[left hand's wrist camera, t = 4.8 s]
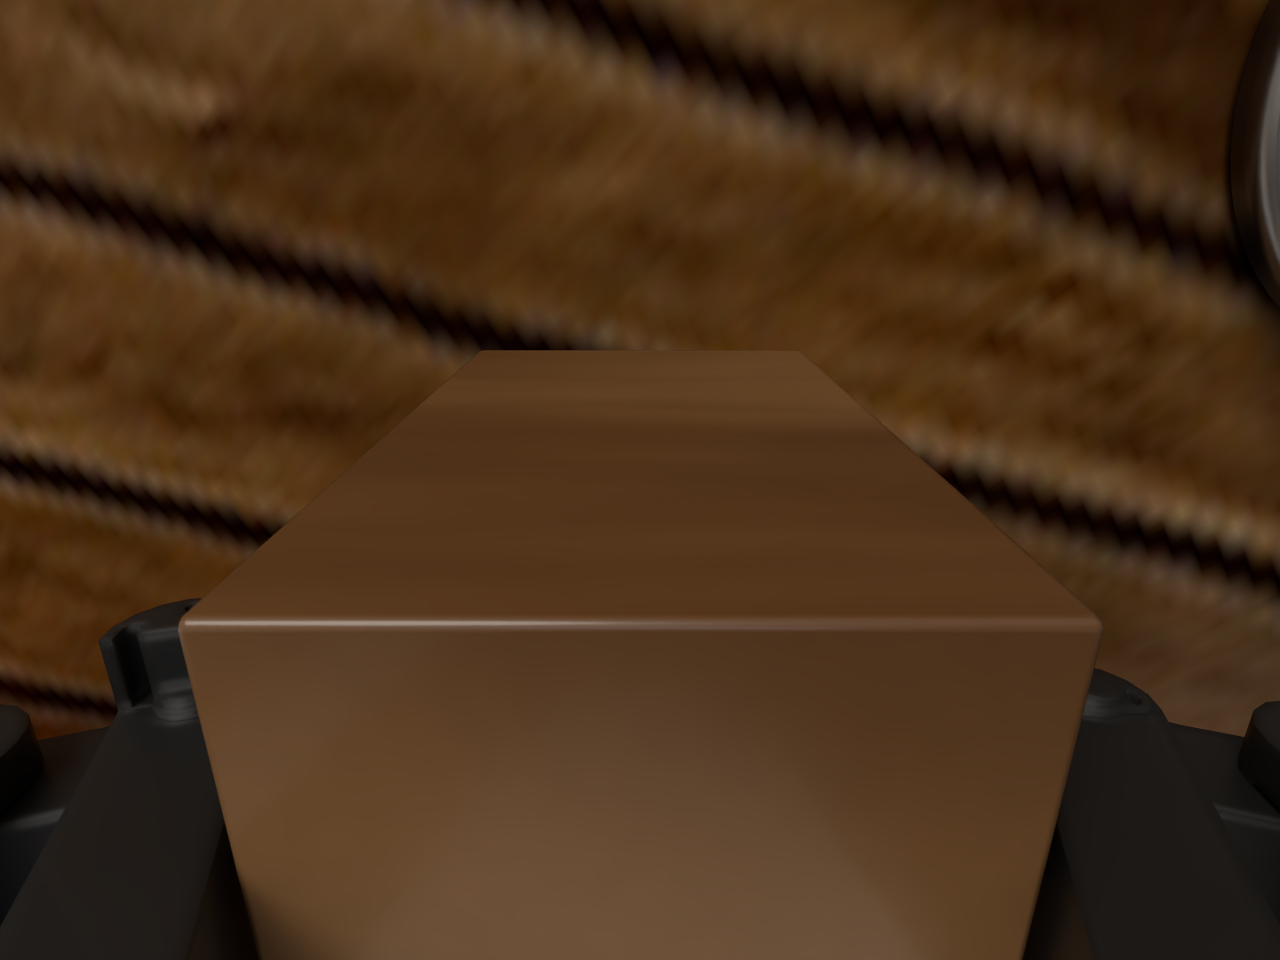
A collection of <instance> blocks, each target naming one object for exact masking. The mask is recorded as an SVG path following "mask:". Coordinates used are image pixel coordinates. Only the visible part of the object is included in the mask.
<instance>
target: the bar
mask: <svg viewBox="0 0 1280 960" xmlns="http://www.w3.org/2000/svg"><path fill="white" fill-rule="evenodd" d="M178 633H179V638H180V642H181V646H182V650H183V654H184V658H185V662H186V666H187V670H188V674H189V678H190V682H191V686H192V690H193V695H194V699H195V703H196V707H197V711H198V715H199V719H200V723H201V727H202V731H203V735H204V739H205V743H206V747H207V751H208V756H209V760H210V764H211V768H212V772H213V776H214V780H215V784H216V788H217V792H218V796H219V800H220V804H221V808H222V813H223V817H224V821H225V825H226V829H227V833H228V837H229V841H230V845H231V849H232V853H233V857H234V861H235V865H236V869H237V874H238V878H239V882H240V886H241V890H242V894H243V898H244V902H245V906H246V910H247V914H248V918H249V922H250V926H251V931H252V935H253V939H254V943H255V947H256V951H257V955H258V959H259V960H1022V959H1023V955H1024V951H1025V947H1026V943H1027V939H1028V935H1029V931H1030V927H1031V923H1032V919H1033V915H1034V910H1035V906H1036V902H1037V898H1038V894H1039V890H1040V886H1041V882H1042V878H1043V874H1044V870H1045V866H1046V862H1047V858H1048V854H1049V850H1050V846H1051V842H1052V838H1053V834H1054V829H1055V825H1056V821H1057V817H1058V813H1059V809H1060V805H1061V801H1062V797H1063V793H1064V789H1065V785H1066V781H1067V777H1068V773H1069V769H1070V765H1071V761H1072V757H1073V752H1074V748H1075V744H1076V740H1077V736H1078V732H1079V728H1080V724H1081V720H1082V716H1083V712H1084V708H1085V704H1086V700H1087V696H1088V692H1089V688H1090V684H1091V680H1092V676H1093V671H1094V667H1095V663H1096V659H1097V655H1098V651H1099V647H1100V643H1101V639H1102V635H1103V625H1102V622H1101V619H1100V617H1099V616H1098V615H1097V614H1096V613H1094V612H1093V611H1092V610H1091V609H1090V608H1089V607H1088V606H1087V605H1085V604H1084V603H1083V602H1082V601H1081V600H1080V599H1079V598H1078V597H1076V596H1075V595H1074V594H1073V593H1072V592H1071V591H1070V590H1069V589H1067V588H1066V587H1065V586H1064V585H1063V584H1062V583H1061V582H1060V581H1058V580H1057V579H1056V578H1055V577H1054V576H1053V575H1052V574H1051V573H1049V572H1048V571H1047V570H1046V569H1045V568H1044V567H1043V566H1042V565H1040V564H1039V563H1038V562H1037V561H1036V560H1035V559H1034V558H1033V557H1031V556H1030V555H1029V554H1028V553H1027V552H1026V551H1025V550H1024V549H1022V548H1021V547H1020V546H1019V545H1018V544H1017V543H1016V542H1015V541H1013V540H1012V539H1011V538H1010V537H1009V536H1008V535H1007V534H1006V533H1004V532H1003V531H1002V530H1001V529H1000V528H999V527H998V526H997V525H995V524H994V523H993V522H992V521H991V520H990V519H989V518H988V517H986V516H985V515H984V514H983V513H982V512H981V511H980V510H979V509H977V508H976V507H975V506H974V505H973V504H972V503H971V502H970V501H968V500H967V499H966V498H965V497H964V496H963V495H962V494H961V493H959V492H958V491H957V490H956V489H955V488H954V487H953V486H952V485H950V484H949V483H948V482H947V481H946V480H945V479H944V478H943V477H941V476H940V475H939V474H938V473H937V472H936V471H935V470H934V469H932V468H931V467H930V466H929V465H928V464H927V463H926V462H925V461H923V460H922V459H921V458H920V457H919V456H918V455H917V454H916V453H914V452H913V451H912V450H911V449H910V448H909V447H908V446H907V445H905V444H904V443H903V442H902V441H901V440H900V439H899V438H898V437H896V436H895V435H894V434H893V433H892V432H891V431H890V430H889V429H887V428H886V427H885V426H884V425H883V424H882V423H881V422H880V421H878V420H877V419H876V418H875V417H874V416H873V415H872V414H871V413H869V412H868V411H867V410H866V409H865V408H864V407H863V406H862V405H860V404H859V403H858V402H857V401H856V400H855V399H854V398H853V397H851V396H850V395H849V394H848V393H847V392H846V391H845V390H844V389H842V388H841V387H840V386H839V385H838V384H837V383H836V382H835V381H833V380H832V379H831V378H830V377H829V376H828V375H827V374H826V373H824V372H823V371H822V370H821V369H820V368H819V367H818V366H817V365H815V364H814V363H813V362H812V361H811V360H810V359H809V358H808V357H806V356H805V355H804V354H803V353H802V352H800V351H481V352H479V353H478V354H476V355H475V356H474V357H473V358H472V359H471V360H470V361H469V362H467V363H466V364H465V365H464V366H463V367H462V368H461V369H460V370H458V371H457V372H456V373H455V374H454V375H453V376H452V377H451V378H449V379H448V380H447V381H446V382H445V383H444V384H443V385H442V386H441V387H439V388H438V389H437V390H436V391H435V392H434V393H433V394H432V395H430V396H429V397H428V398H427V399H426V400H425V401H424V402H423V403H421V404H420V405H419V406H418V407H417V408H416V409H415V410H414V411H412V412H411V413H410V414H409V415H408V416H407V417H406V418H405V419H403V420H402V421H401V422H400V423H399V424H398V425H397V426H396V427H394V428H393V429H392V430H391V431H390V432H389V433H388V434H387V435H385V436H384V437H383V438H382V439H381V440H380V441H379V442H378V443H376V444H375V445H374V446H373V447H372V448H371V449H370V450H369V451H368V452H366V453H365V454H364V455H363V456H362V457H361V458H360V459H359V460H357V461H356V462H355V463H354V464H353V465H352V466H351V467H350V468H348V469H347V470H346V471H345V472H344V473H343V474H342V475H341V476H339V477H338V478H337V479H336V480H335V481H334V482H333V483H332V484H330V485H329V486H328V487H327V488H326V489H325V490H324V491H323V492H321V493H320V494H319V495H318V496H317V497H316V498H315V499H314V500H312V501H311V502H310V503H309V504H308V505H307V506H306V507H305V508H303V509H302V510H301V511H300V512H299V513H298V514H297V515H296V516H294V517H293V518H292V519H291V520H290V521H289V522H288V523H287V524H286V525H284V526H283V527H282V528H281V529H280V530H279V531H278V532H277V533H275V534H274V535H273V536H272V537H271V538H270V539H269V540H268V541H266V542H265V543H264V544H263V545H262V546H261V547H260V548H259V549H257V550H256V551H255V552H254V553H253V554H252V555H251V556H250V557H248V558H247V559H246V560H245V561H244V562H243V563H242V564H241V565H239V566H238V567H237V568H236V569H235V570H234V571H233V572H232V573H230V574H229V575H228V576H227V577H226V578H225V579H224V580H223V581H221V582H220V583H219V584H218V585H217V586H216V587H215V588H214V589H212V590H211V591H210V592H209V593H208V594H207V595H206V596H205V597H204V598H202V599H201V600H200V601H199V602H198V603H197V604H196V605H195V606H193V607H192V608H191V609H190V610H189V611H188V612H187V613H186V614H184V615H183V616H182V617H181V620H180V622H179V627H178Z"/></svg>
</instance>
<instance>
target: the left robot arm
mask: <svg viewBox="0 0 1280 960" xmlns="http://www.w3.org/2000/svg"><path fill="white" fill-rule="evenodd" d="M1230 175H1231V189H1232V198H1233V207H1234V212H1235V217H1236V221H1237V226H1238V230H1239V234H1240V237H1241V240H1242V243H1243V246H1244V249H1245V252H1246V254H1247V257H1248V259H1249V261H1250V263H1251V265H1252V267H1253V269H1254V271H1255V273H1256V275H1257V277H1258V279H1259V280H1260V282H1261V283H1262V285H1263V286H1264V288H1265V290H1266V291H1267V293H1268V294H1269V296H1270V297H1271V298H1272V299H1273V300H1274V301H1275V303H1276V304H1277V305H1278V306H1279V307H1280V0H1270V1H1269V3H1268V5H1267V7H1266V10H1265V12H1264V14H1263V17H1262V19H1261V21H1260V24H1259V26H1258V28H1257V31H1256V34H1255V37H1254V40H1253V43H1252V46H1251V49H1250V51H1249V54H1248V57H1247V60H1246V64H1245V68H1244V72H1243V75H1242V79H1241V83H1240V87H1239V91H1238V96H1237V102H1236V107H1235V113H1234V119H1233V127H1232V138H1231V150H1230ZM201 599H202V598H200V599H188V600H183V601H178V602H173V603H168V604H164V605H161V606H158V607H155V608H152V609H149V610H146V611H144V612H141V613H138V614H135V615H134V616H132V617H130V618H128V619H126V620H124V621H123V622H121V623H119V624H117V625H115V626H114V627H112V628H111V629H110V630H109V631H108V632H107V633H106V634H105V635H104V636H103V637H102V638H101V639H99V640H98V642H99V645H100V649H101V652H102V655H103V659H104V662H105V666H106V669H107V673H108V676H109V680H110V683H111V686H112V690H113V693H114V697H115V700H116V704H117V707H118V713H117V715H116V717H115V718H114V720H113V722H112V724H111V726H108V727H104V728H100V729H95V730H89V731H84V732H79V733H74V734H68V735H63V736H58V737H53V738H48V739H42V740H37V738H36V735H35V732H34V729H33V726H32V723H31V720H30V718H29V715H28V713H26V712H25V711H23V710H22V709H20V708H19V707H17V706H12V705H2V704H0V960H259V959H258V955H257V951H256V947H255V943H254V939H253V935H252V931H251V926H250V922H249V918H248V914H247V910H246V906H245V902H244V898H243V894H242V890H241V886H240V882H239V878H238V874H237V869H236V865H235V861H234V857H233V853H232V849H231V845H230V841H229V837H228V833H227V829H226V825H225V821H224V817H223V813H222V808H221V804H220V800H219V796H218V792H217V788H216V784H215V780H214V776H213V772H212V768H211V764H210V760H209V756H208V751H207V747H206V743H205V739H204V735H203V731H202V727H201V723H200V719H199V715H198V711H197V707H196V703H195V699H194V695H193V690H192V686H191V682H190V678H189V674H188V670H187V666H186V662H185V658H184V654H183V650H182V646H181V642H180V638H179V633H178V627H179V622H180V620H181V617H182V616H183V615H184V614H186V613H187V612H188V611H189V610H190V609H191V608H192V607H193V606H195V605H196V604H197V603H198V602H199V601H200V600H201ZM1022 960H1280V701H1275V702H1265V703H1264V704H1262V705H1261V706H1260V707H1258V708H1257V709H1255V710H1254V711H1253V714H1252V717H1251V720H1250V723H1249V726H1248V729H1247V731H1246V734H1245V737H1241V736H1236V735H1230V734H1225V733H1220V732H1215V731H1209V730H1204V729H1199V728H1194V727H1188V726H1183V725H1178V724H1174V723H1170V722H1168V721H1167V719H1166V717H1165V715H1164V713H1163V712H1162V710H1161V709H1160V708H1159V706H1158V705H1157V704H1156V703H1155V702H1154V701H1153V700H1152V698H1151V697H1150V696H1149V695H1148V694H1147V693H1145V692H1143V691H1142V690H1140V689H1139V688H1137V687H1136V686H1134V685H1133V684H1131V683H1130V682H1128V681H1127V680H1124V679H1122V678H1120V677H1117V676H1115V675H1112V674H1110V673H1108V672H1105V671H1103V670H1100V669H1096V668H1094V671H1093V676H1092V680H1091V684H1090V688H1089V692H1088V696H1087V700H1086V704H1085V708H1084V712H1083V716H1082V720H1081V724H1080V728H1079V732H1078V736H1077V740H1076V744H1075V748H1074V752H1073V757H1072V761H1071V765H1070V769H1069V773H1068V777H1067V781H1066V785H1065V789H1064V793H1063V797H1062V801H1061V805H1060V809H1059V813H1058V817H1057V821H1056V825H1055V829H1054V834H1053V838H1052V842H1051V846H1050V850H1049V854H1048V858H1047V862H1046V866H1045V870H1044V874H1043V878H1042V882H1041V886H1040V890H1039V894H1038V898H1037V902H1036V906H1035V910H1034V915H1033V919H1032V923H1031V927H1030V931H1029V935H1028V939H1027V943H1026V947H1025V951H1024V955H1023V959H1022Z"/></svg>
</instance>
